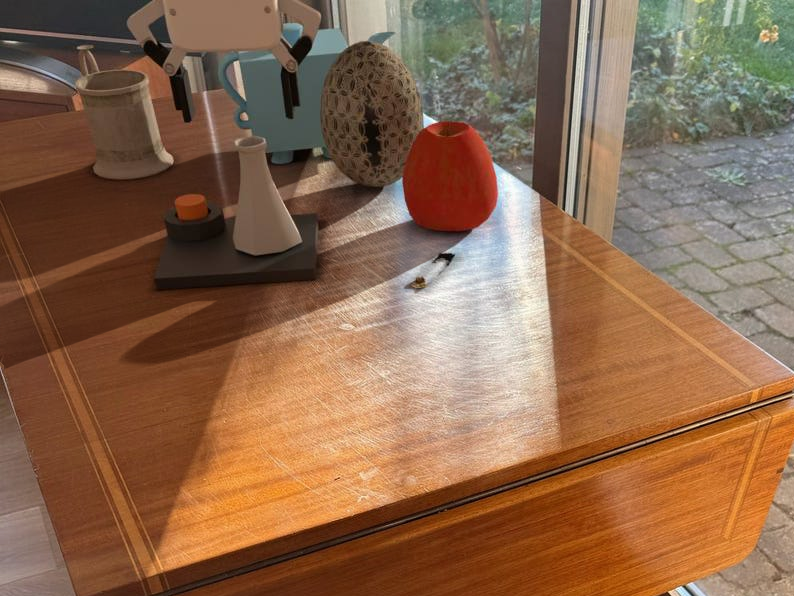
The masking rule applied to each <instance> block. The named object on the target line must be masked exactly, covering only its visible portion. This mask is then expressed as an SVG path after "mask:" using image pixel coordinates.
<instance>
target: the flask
mask: <svg viewBox="0 0 794 596" xmlns="http://www.w3.org/2000/svg"><path fill="white" fill-rule="evenodd" d="M233 146H234V148H235V151H236V152H238V156H239V163H240V165H239V166H240V170H239V171H240V185H239V193H238V201H237V208H236V213H235V214H236V215H235V218H236V220H235V226H234V232H233V241H234V244H235V248H236V249H238V250H240V251H243V252H246V253H249V254H252V255H262V254H269V253H276V252H283V251H285V250H287V249H289V248H291V247H293V246H295V245H297V244H299V243H301V242H302V240H301V237H300V235H299V232H298V230H297V228H296V226H295V224H294V222H293V220H292V218H291V216H290V215H291V214H290V213H289V211H288V209H287V207H286V205H285V202H284V201H283V199H282V197H281V195H280V192H279V190H278V189H277V186H276V184H275V182H274V181H273V177H272V174H271V172H270V169H269V166H268V165H269V164H268V161H267V157H266V153H265V149H266V148H267V144H266V141H265V138H261V137H258V136H252V135H251V136H245V137H244V136H243V137H240V138H237V139H236V140H233Z"/></svg>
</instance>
